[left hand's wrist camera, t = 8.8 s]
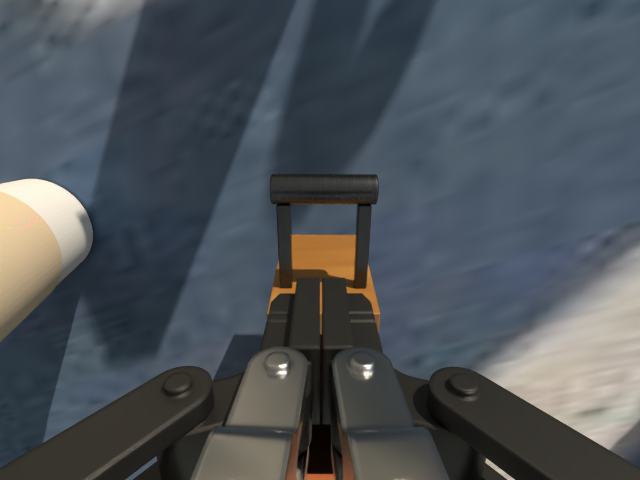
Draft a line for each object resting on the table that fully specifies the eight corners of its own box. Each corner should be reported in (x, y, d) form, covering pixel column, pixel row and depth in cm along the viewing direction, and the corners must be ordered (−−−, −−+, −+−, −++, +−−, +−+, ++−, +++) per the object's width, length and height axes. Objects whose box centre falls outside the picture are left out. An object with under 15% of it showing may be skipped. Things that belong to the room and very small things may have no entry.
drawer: (280, 146, 23) (258, 190, 15) (366, 146, 23) (390, 191, 15) (290, 418, 32) (280, 535, 24) (351, 418, 32) (362, 535, 24)
